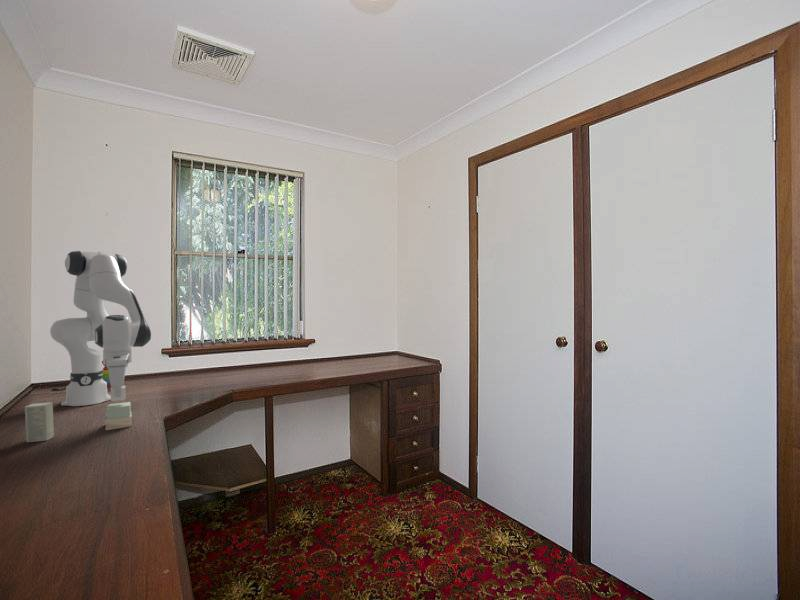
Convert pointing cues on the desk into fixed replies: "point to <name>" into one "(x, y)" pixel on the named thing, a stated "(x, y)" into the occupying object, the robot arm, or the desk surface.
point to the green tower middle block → (118, 410)
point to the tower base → (118, 422)
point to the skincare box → (39, 422)
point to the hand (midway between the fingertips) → (118, 395)
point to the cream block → (118, 397)
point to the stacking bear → (106, 377)
